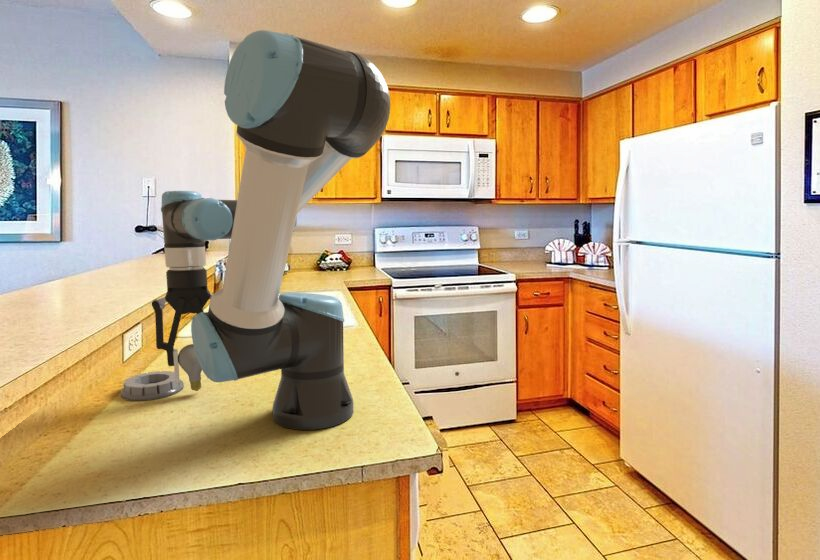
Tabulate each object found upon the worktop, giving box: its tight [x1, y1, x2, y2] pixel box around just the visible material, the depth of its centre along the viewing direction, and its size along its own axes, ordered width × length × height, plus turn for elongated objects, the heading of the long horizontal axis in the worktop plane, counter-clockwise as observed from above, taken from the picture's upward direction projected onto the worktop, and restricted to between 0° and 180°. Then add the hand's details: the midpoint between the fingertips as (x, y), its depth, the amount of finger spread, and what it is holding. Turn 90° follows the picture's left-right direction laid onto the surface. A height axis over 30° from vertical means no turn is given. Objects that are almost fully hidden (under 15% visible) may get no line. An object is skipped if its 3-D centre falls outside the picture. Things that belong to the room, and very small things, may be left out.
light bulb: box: [178, 343, 203, 392], centre depth 103 cm, size 6×6×10 cm
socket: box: [120, 370, 184, 402], centre depth 106 cm, size 12×12×3 cm
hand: (193, 378), depth 103 cm, fingers closed on light bulb, 5 cm apart
